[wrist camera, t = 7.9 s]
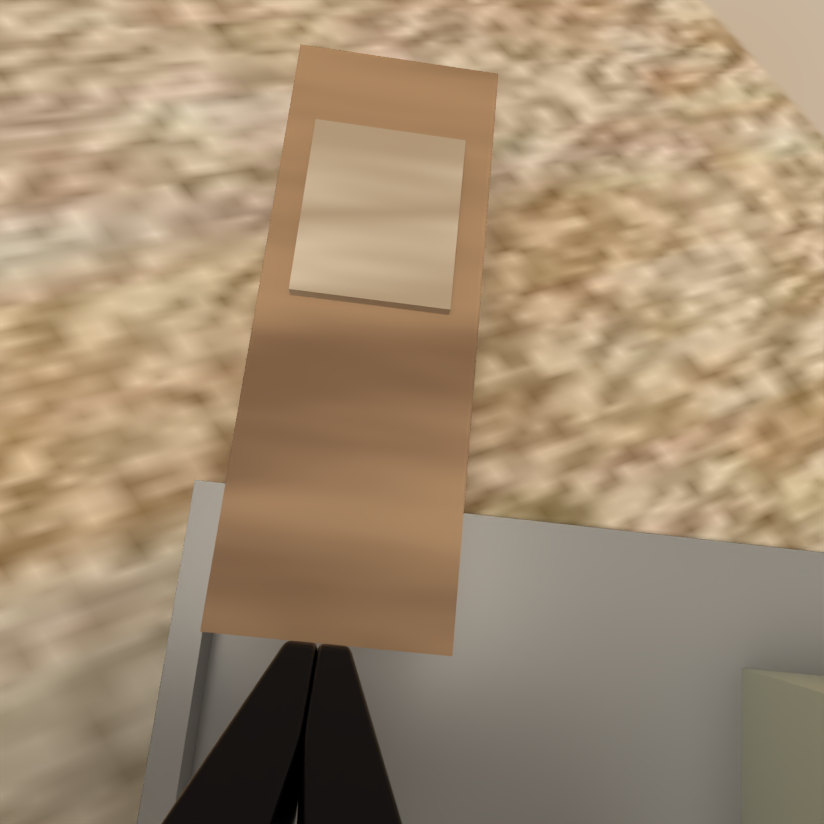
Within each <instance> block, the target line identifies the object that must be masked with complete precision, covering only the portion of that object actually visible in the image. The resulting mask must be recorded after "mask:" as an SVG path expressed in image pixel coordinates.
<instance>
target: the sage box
mask: <svg viewBox="0 0 824 824" xmlns="http://www.w3.org/2000/svg"><path fill="white" fill-rule="evenodd" d="M741 824H824V676H819V675H809V674H799V673H789V672H779V671H769V670H759V669H749V668H742V739H741Z"/></svg>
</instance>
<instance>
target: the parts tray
mask: <svg viewBox="0 0 824 824" xmlns="http://www.w3.org/2000/svg"><path fill="white" fill-rule="evenodd" d="M224 489H225V483H218V482H209V481H200V480H195V482H194V488H193V494H192V500H191V506H190V512H189V518H188V524H187V530H186V536H185V542H184V548H183V553H182V559H181V565H180V571H179V577H178V583H177V589H176V595H175V601H174V607H173V613H172V619H171V624H170V630H169V636H168V642H167V648H166V654H165V660H164V666H163V672H162V678H161V684H160V690H159V695H158V701H157V707H156V713H155V719H154V725H153V731H152V737H151V743H150V749H149V755H148V761H147V766H146V772H145V778H144V784H143V790H142V796H141V802H140V808H139V814H138V820H137V824H161V823H162V821H163V820H164V818H165V817H166V815H167V814H168V813H169V811H170V810H171V808H172V807H173V805H174V804H175V802H176V801H177V799H178V798H179V796H180V795H181V793H182V792H183V791H184V789H185V788H186V786H187V785H188V783H189V782H190V780H191V779H192V777H193V776H194V774H195V773H196V771H197V770H198V768H199V767H200V766H201V764H202V763H203V761H204V760H205V758H206V757H207V755H208V754H209V752H210V751H211V749H212V748H213V746H214V745H215V744H216V742H217V741H218V739H219V738H220V736H221V735H222V733H223V732H224V730H225V729H226V727H227V726H228V724H229V723H230V721H231V720H232V719H233V717H234V716H235V714H236V713H237V711H238V710H239V708H240V707H241V705H242V704H243V702H244V701H245V699H246V698H247V697H248V695H249V694H250V692H251V691H252V689H253V688H254V686H255V685H256V683H257V682H258V680H259V679H260V677H261V676H262V675H263V673H264V672H265V670H266V669H267V667H268V666H269V664H270V663H271V661H272V660H273V658H274V657H275V655H276V654H277V652H278V651H279V650H280V648H281V647H282V645H283V644H284V643H285V642H287V641H289V640H279V639H269V638H258V637H248V636H238V635H228V634H217V633H207V632H200V629H201V623H202V617H203V611H204V605H205V600H206V594H207V588H208V582H209V576H210V570H211V565H212V559H213V553H214V547H215V541H216V535H217V530H218V524H219V518H220V512H221V506H222V500H223V495H224ZM315 644H316V646H317V650H318V647H319V646H320V645H321V644H320V643H315ZM347 647H349V648H350V650H351V652H352V655H353V658H354V661H355V665H356V668H357V672H358V675H359V678H360V682H361V685H362V688H363V692H364V695H365V699H366V702H367V705H368V709H369V712H370V716H371V719H372V722H373V726H374V729H375V732H376V736H377V739H378V743H379V746H380V749H381V753H382V756H383V760H384V763H385V766H386V770H387V773H388V776H389V780H390V783H391V787H392V790H393V793H394V797H395V800H396V804H397V807H398V810H399V814H400V817H401V820H402V824H741V739H742V668H749V669H759V670H769V671H779V672H789V673H799V674H809V675H819V676H824V553H822V552H813V551H804V550H795V549H785V548H776V547H767V546H758V545H749V544H740V543H731V542H722V541H713V540H704V539H694V538H685V537H676V536H667V535H658V534H649V533H640V532H631V531H622V530H613V529H604V528H594V527H585V526H576V525H567V524H558V523H549V522H540V521H531V520H522V519H513V518H504V517H494V516H485V515H476V514H467V513H464V515H463V528H462V541H461V553H460V566H459V579H458V591H457V604H456V617H455V630H454V642H453V655H452V656H443V655H433V654H423V653H413V652H402V651H392V650H382V649H371V648H361V647H351V646H347ZM297 812H298V807H297ZM295 824H297V813H296V819H295Z"/></svg>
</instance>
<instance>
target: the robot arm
mask: <svg viewBox="0 0 824 824" xmlns="http://www.w3.org/2000/svg"><path fill="white" fill-rule="evenodd" d="M297 807H298V812H297ZM296 813H297V824H402V820H401V817H400V814H399V810H398V807H397V804H396V800H395V797H394V793H393V790H392V787H391V783H390V780H389V776H388V773H387V770H386V766H385V763H384V760H383V756H382V753H381V749H380V746H379V743H378V739H377V736H376V732H375V729H374V726H373V722H372V719H371V716H370V712H369V709H368V705H367V702H366V699H365V695H364V692H363V688H362V685H361V682H360V678H359V675H358V672H357V668H356V665H355V661H354V658H353V655H352V652H351V650H350V648H349V647H347V646H344V645H334V644H321V645H320V646H319V647H318V650H317V646H316V644H315V643H312V642H303V641H293V640H290V641H287V642H285V643H284V644H283V645H282V647H281V648H280V650H279V651H278V652H277V654H276V655H275V657H274V658H273V660H272V661H271V663H270V664H269V666H268V667H267V669H266V670H265V672H264V673H263V675H262V676H261V677H260V679H259V680H258V682H257V683H256V685H255V686H254V688H253V689H252V691H251V692H250V694H249V695H248V697H247V698H246V699H245V701H244V702H243V704H242V705H241V707H240V708H239V710H238V711H237V713H236V714H235V716H234V717H233V719H232V720H231V721H230V723H229V724H228V726H227V727H226V729H225V730H224V732H223V733H222V735H221V736H220V738H219V739H218V741H217V742H216V744H215V745H214V746H213V748H212V749H211V751H210V752H209V754H208V755H207V757H206V758H205V760H204V761H203V763H202V764H201V766H200V767H199V768H198V770H197V771H196V773H195V774H194V776H193V777H192V779H191V780H190V782H189V783H188V785H187V786H186V788H185V789H184V791H183V792H182V793H181V795H180V796H179V798H178V799H177V801H176V802H175V804H174V805H173V807H172V808H171V810H170V811H169V813H168V814H167V815H166V817H165V818H164V820H163V821H162V823H161V824H295V819H296Z"/></svg>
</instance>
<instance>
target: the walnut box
mask: <svg viewBox="0 0 824 824" xmlns="http://www.w3.org/2000/svg"><path fill="white" fill-rule="evenodd" d="M497 83H498V74H496V73H489V72H482V71H475V70H469V69H462V68H455V67H449V66H442V65H435V64H428V63H422V62H415V61H408V60H401V59H395V58H388V57H381V56H375V55H368V54H361V53H354V52H348V51H341V50H334V49H327V48H321V47H314V46H307V45H300V51H299V57H298V63H297V69H296V75H295V80H294V86H293V92H292V98H291V104H290V110H289V115H288V121H287V127H286V133H285V139H284V145H283V150H282V156H281V162H280V168H279V174H278V180H277V185H276V191H275V197H274V203H273V209H272V215H271V220H270V226H269V232H268V238H267V244H266V250H265V255H264V261H263V267H262V273H261V279H260V285H259V290H258V296H257V302H256V308H255V314H254V320H253V325H252V331H251V337H250V343H249V349H248V355H247V360H246V366H245V372H244V378H243V384H242V390H241V395H240V401H239V407H238V413H237V419H236V425H235V430H234V436H233V442H232V448H231V454H230V460H229V465H228V471H227V477H226V483H225V489H224V495H223V500H222V506H221V512H220V518H219V524H218V530H217V535H216V541H215V547H214V553H213V559H212V565H211V570H210V576H209V582H208V588H207V594H206V600H205V605H204V611H203V617H202V623H201V629H200V632H207V633H217V634H228V635H238V636H248V637H258V638H269V639H279V640H289V641H290V640H293V641H303V642H312V643H320V644H334V645H344V646H351V647H361V648H371V649H382V650H392V651H402V652H413V653H423V654H433V655H443V656H452V655H453V642H454V630H455V617H456V604H457V591H458V579H459V566H460V553H461V541H462V528H463V515H464V502H465V490H466V477H467V464H468V452H469V439H470V426H471V414H472V401H473V388H474V375H475V363H476V350H477V337H478V325H479V312H480V299H481V286H482V274H483V261H484V248H485V236H486V223H487V210H488V197H489V185H490V172H491V159H492V147H493V134H494V121H495V109H496V96H497Z"/></svg>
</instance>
